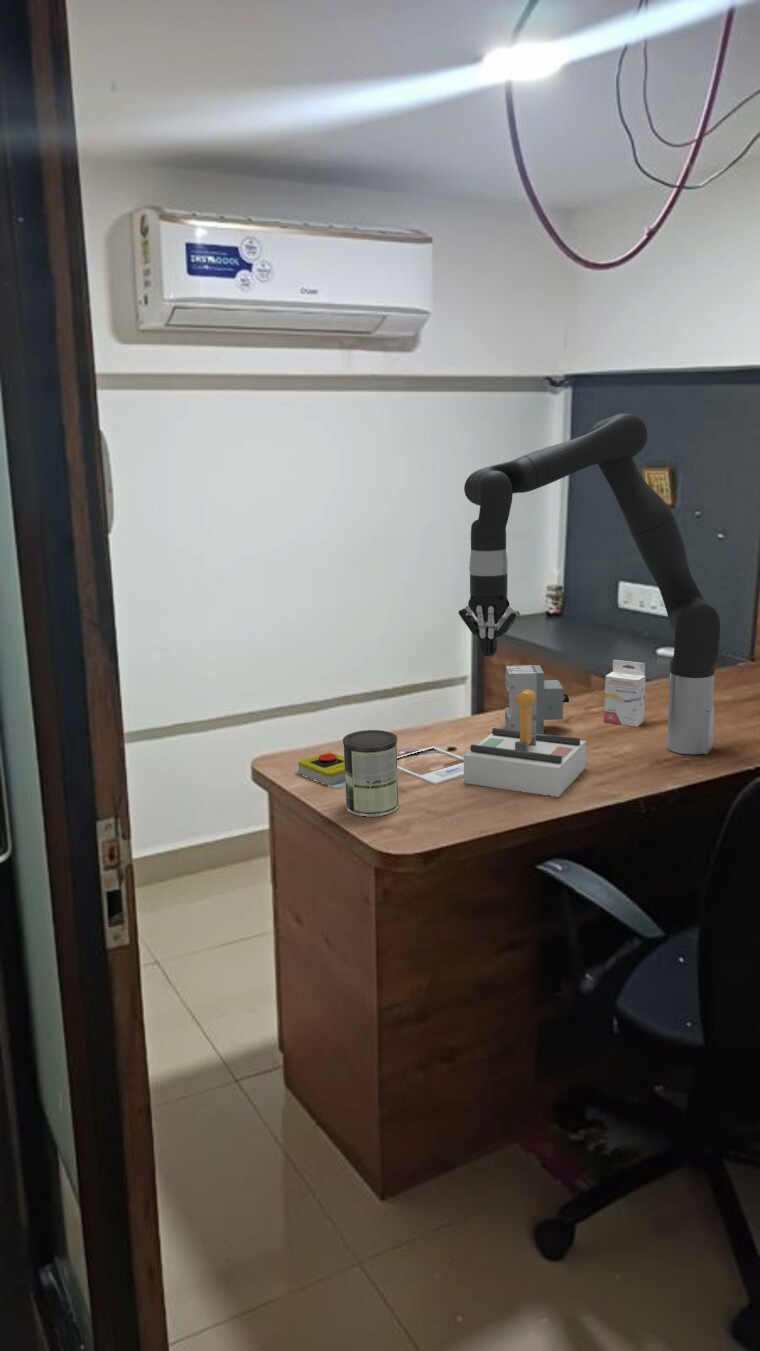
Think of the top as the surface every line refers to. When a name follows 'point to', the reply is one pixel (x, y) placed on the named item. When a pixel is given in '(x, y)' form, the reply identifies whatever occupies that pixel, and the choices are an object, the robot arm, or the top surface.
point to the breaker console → (525, 762)
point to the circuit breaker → (546, 697)
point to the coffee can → (371, 773)
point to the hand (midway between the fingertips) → (489, 655)
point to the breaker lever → (525, 713)
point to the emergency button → (324, 769)
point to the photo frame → (442, 774)
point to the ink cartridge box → (625, 694)
